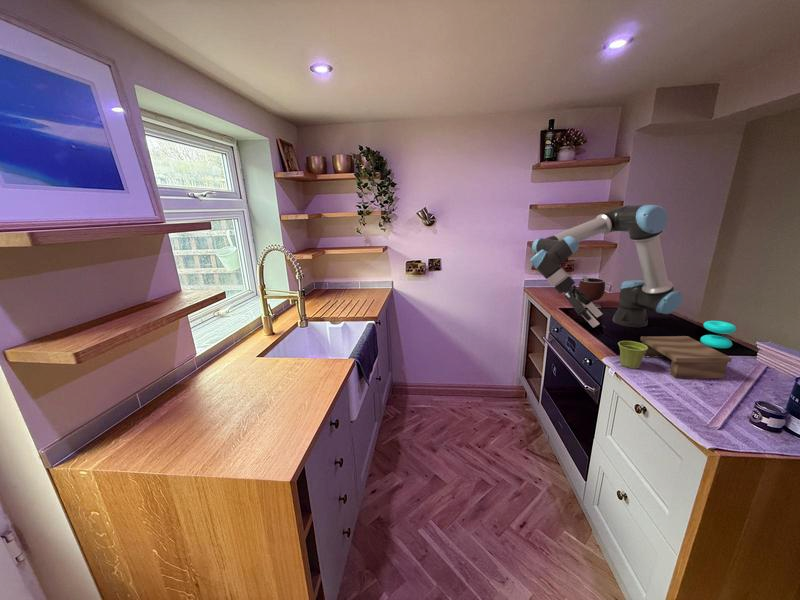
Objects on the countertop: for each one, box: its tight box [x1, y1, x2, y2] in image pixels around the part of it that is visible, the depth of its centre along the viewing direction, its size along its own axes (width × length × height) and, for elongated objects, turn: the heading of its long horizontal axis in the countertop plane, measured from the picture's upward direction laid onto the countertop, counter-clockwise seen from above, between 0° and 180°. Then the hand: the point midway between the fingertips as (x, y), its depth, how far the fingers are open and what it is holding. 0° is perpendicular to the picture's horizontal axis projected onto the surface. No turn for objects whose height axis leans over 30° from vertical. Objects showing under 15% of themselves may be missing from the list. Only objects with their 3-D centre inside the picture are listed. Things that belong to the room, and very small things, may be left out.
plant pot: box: [617, 340, 648, 369], centre depth 124 cm, size 9×9×9 cm
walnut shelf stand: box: [640, 335, 733, 379], centre depth 122 cm, size 20×18×8 cm
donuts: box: [699, 320, 737, 349], centre depth 136 cm, size 10×10×10 cm
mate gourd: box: [578, 272, 606, 309], centre depth 195 cm, size 16×14×20 cm
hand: (598, 320), depth 127 cm, fingers open, 13 cm apart
